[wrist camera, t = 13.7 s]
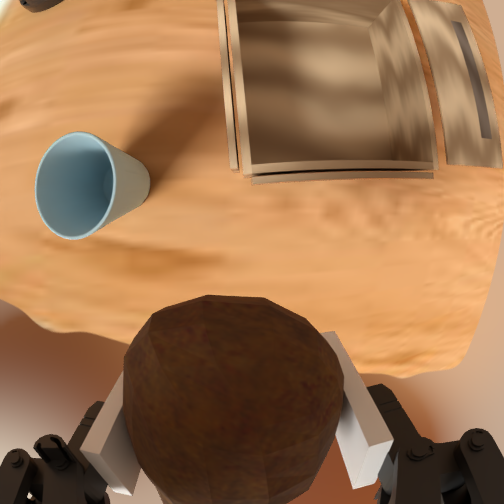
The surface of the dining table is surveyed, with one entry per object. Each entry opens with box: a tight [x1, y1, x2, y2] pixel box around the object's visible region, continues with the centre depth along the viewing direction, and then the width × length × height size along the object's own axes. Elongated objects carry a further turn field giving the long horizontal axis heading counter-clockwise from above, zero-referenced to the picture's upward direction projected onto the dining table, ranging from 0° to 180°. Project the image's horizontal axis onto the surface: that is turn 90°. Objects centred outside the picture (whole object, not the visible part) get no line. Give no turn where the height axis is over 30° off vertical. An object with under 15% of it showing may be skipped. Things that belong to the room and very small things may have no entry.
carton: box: [217, 0, 439, 185], centre depth 21 cm, size 20×17×8 cm
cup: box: [35, 132, 150, 239], centre depth 21 cm, size 8×8×10 cm
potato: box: [123, 295, 344, 504], centre depth 9 cm, size 7×10×8 cm
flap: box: [407, 0, 503, 169], centre depth 16 cm, size 17×1×6 cm
